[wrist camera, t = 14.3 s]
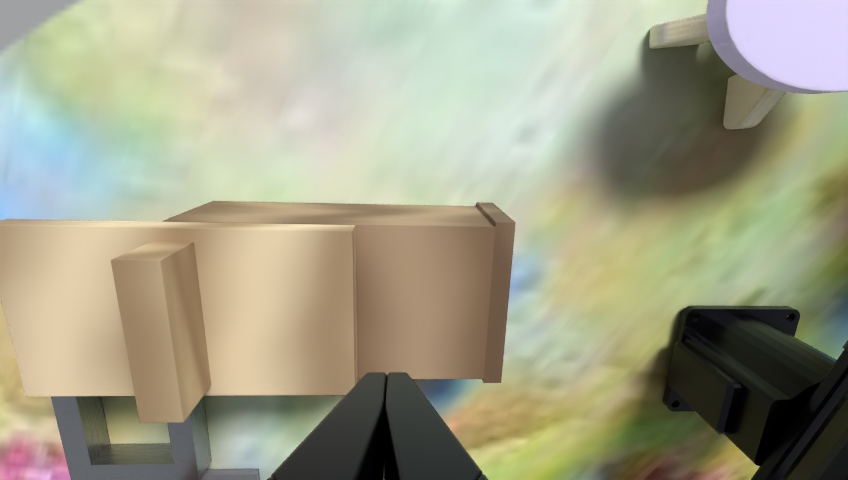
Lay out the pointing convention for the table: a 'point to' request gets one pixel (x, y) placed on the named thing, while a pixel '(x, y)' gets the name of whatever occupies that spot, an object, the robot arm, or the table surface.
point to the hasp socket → (129, 445)
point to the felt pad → (231, 474)
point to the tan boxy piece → (413, 280)
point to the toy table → (768, 50)
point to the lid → (179, 310)
